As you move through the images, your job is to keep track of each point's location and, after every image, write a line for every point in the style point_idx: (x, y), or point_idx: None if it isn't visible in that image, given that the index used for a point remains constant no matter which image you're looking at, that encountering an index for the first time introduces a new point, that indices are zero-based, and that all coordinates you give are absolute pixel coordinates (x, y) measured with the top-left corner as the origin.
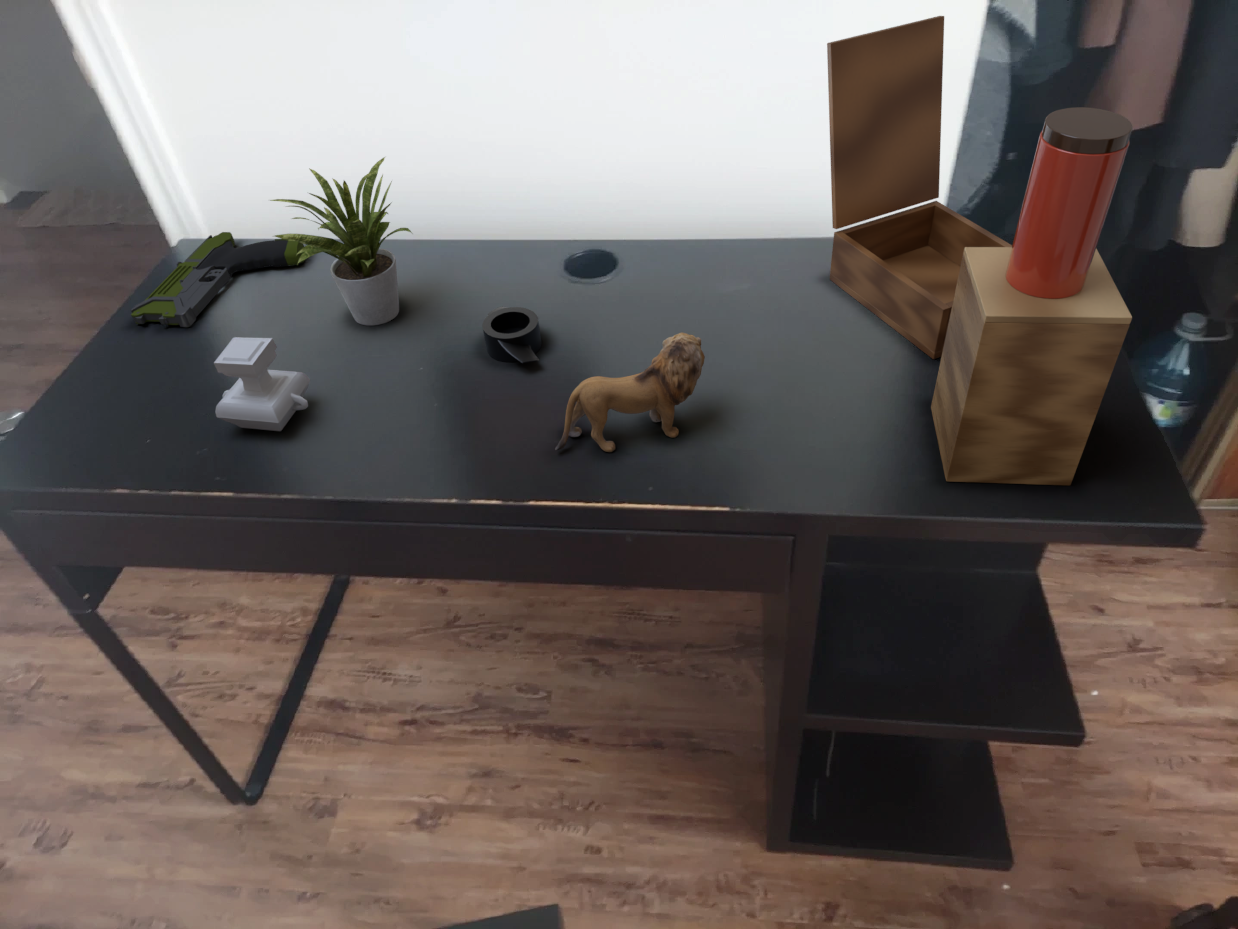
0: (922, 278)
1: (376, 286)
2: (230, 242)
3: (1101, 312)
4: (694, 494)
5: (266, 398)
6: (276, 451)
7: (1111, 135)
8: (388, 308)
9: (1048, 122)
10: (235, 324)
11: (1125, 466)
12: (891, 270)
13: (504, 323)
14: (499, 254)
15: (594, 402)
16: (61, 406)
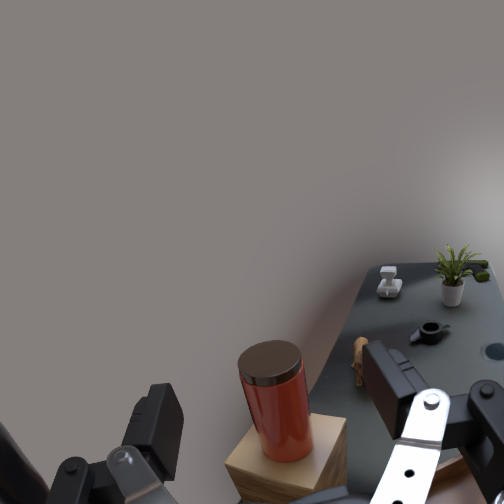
0: (484, 501)
1: (443, 289)
2: (482, 264)
3: (238, 452)
4: (318, 388)
5: (382, 285)
6: (373, 298)
7: (242, 360)
8: (446, 301)
9: (282, 341)
10: (441, 278)
11: None
12: (453, 459)
13: (437, 328)
14: (499, 323)
15: (354, 343)
16: (399, 265)
